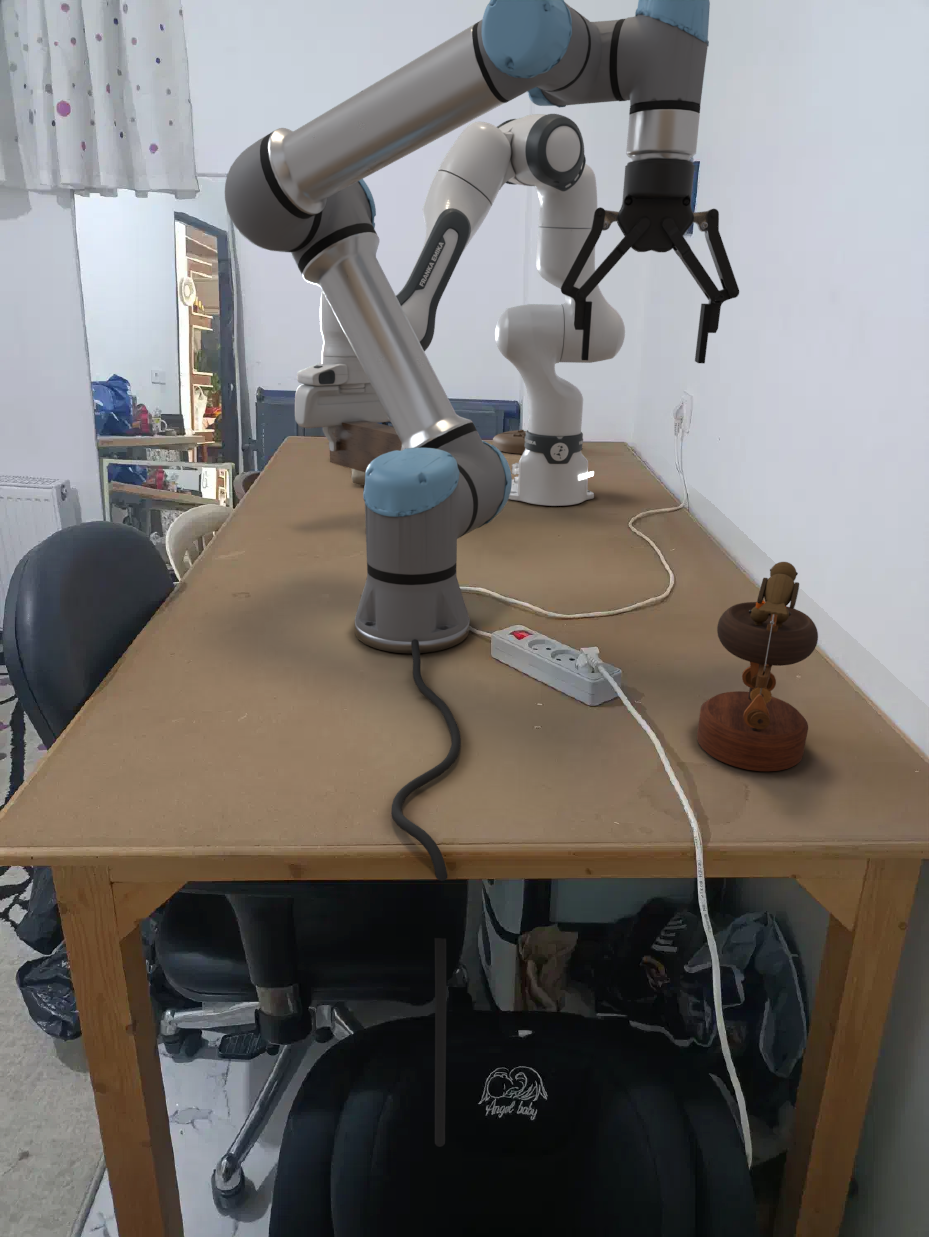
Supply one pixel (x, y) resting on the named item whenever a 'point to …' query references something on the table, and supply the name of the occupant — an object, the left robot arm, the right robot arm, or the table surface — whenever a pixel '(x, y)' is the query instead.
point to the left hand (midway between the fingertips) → (641, 361)
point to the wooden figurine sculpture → (760, 680)
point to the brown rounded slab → (510, 441)
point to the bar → (363, 443)
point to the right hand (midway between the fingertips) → (349, 449)
